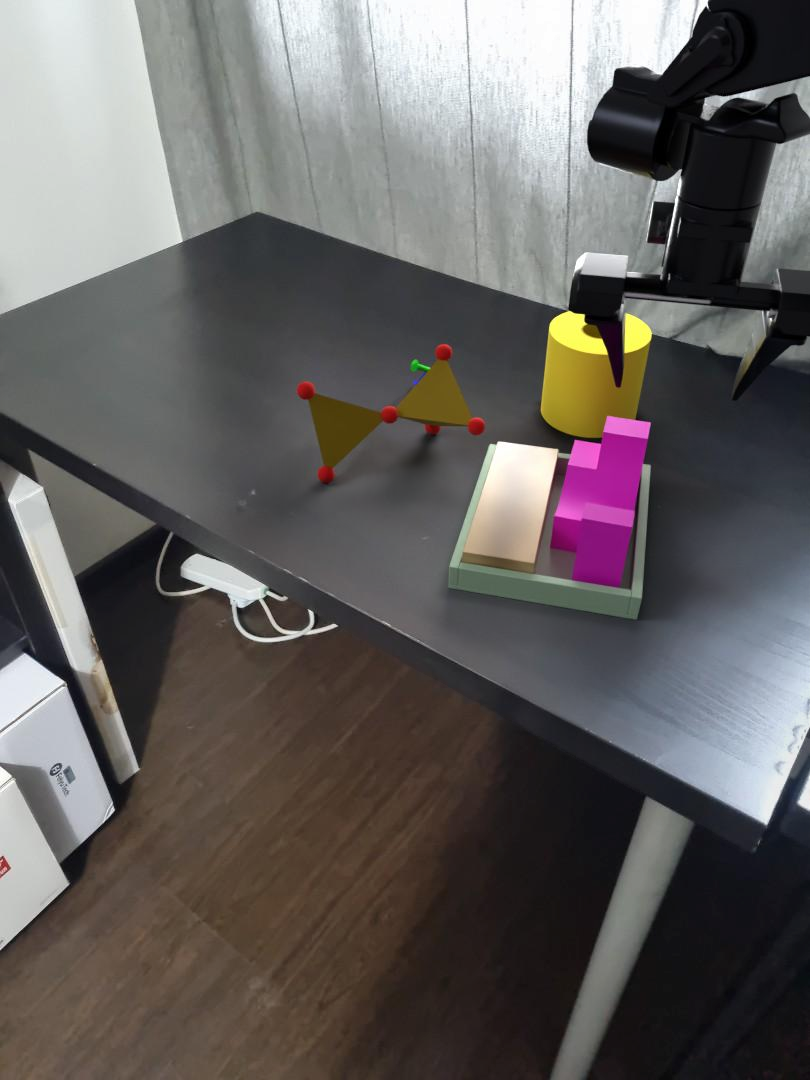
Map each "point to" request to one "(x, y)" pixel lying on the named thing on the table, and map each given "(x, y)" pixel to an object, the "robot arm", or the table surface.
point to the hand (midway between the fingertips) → (675, 391)
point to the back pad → (512, 508)
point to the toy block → (601, 501)
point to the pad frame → (558, 561)
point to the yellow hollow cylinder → (590, 376)
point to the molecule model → (389, 412)
